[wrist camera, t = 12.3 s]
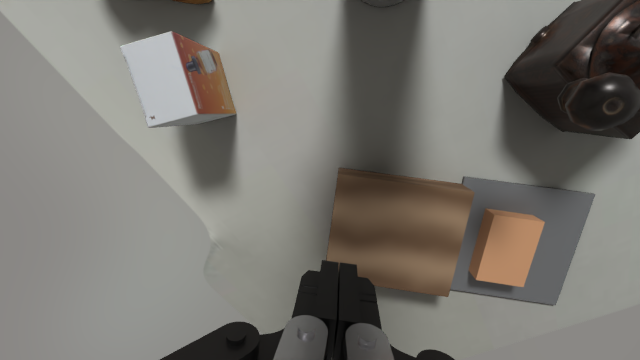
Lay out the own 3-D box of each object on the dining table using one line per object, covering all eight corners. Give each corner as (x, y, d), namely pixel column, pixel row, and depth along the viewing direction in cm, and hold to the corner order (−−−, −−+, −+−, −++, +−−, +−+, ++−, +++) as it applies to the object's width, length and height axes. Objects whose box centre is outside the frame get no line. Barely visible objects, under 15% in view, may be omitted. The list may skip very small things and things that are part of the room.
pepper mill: (570, -5, 33) (827, -134, 15) (637, 63, 34) (949, 16, 16) (463, 106, 36) (573, 103, 19) (526, 165, 37) (686, 214, 20)
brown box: (338, 167, 39) (338, 174, 35) (461, 184, 38) (474, 192, 35) (325, 262, 43) (323, 278, 39) (438, 279, 42) (448, 296, 38)
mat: (463, 176, 38) (464, 177, 38) (592, 193, 37) (595, 194, 37) (437, 285, 42) (437, 287, 42) (553, 303, 41) (555, 305, 41)
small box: (237, 114, 39) (199, 116, 29) (198, 124, 40) (147, 129, 29) (219, 50, 37) (171, 28, 27) (178, 62, 38) (117, 44, 28)
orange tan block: (544, 222, 36) (532, 215, 38) (494, 214, 36) (485, 208, 39) (523, 287, 38) (513, 276, 40) (475, 279, 38) (468, 270, 41)
